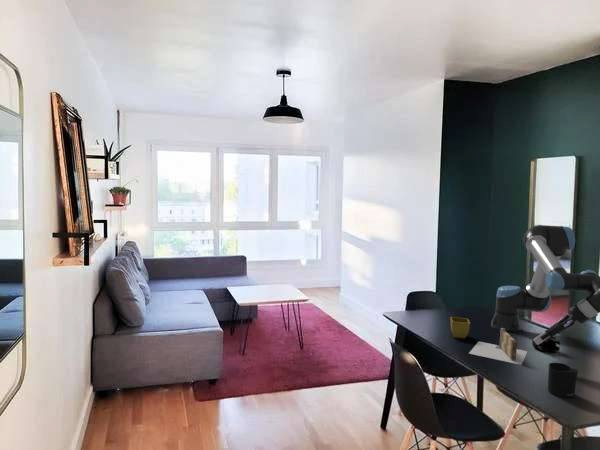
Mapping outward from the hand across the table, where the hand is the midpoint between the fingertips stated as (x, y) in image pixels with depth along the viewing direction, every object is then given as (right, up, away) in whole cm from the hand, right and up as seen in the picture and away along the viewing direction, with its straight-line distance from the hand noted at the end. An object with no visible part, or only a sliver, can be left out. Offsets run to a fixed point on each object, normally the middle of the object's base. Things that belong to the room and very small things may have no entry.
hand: (535, 342), depth 205 cm
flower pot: (-22, -6, +34) cm, 41 cm away
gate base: (-11, -8, +12) cm, 18 cm away
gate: (-8, -8, +11) cm, 15 cm away
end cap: (+14, -9, +19) cm, 25 cm away
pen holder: (-6, -12, -30) cm, 33 cm away
